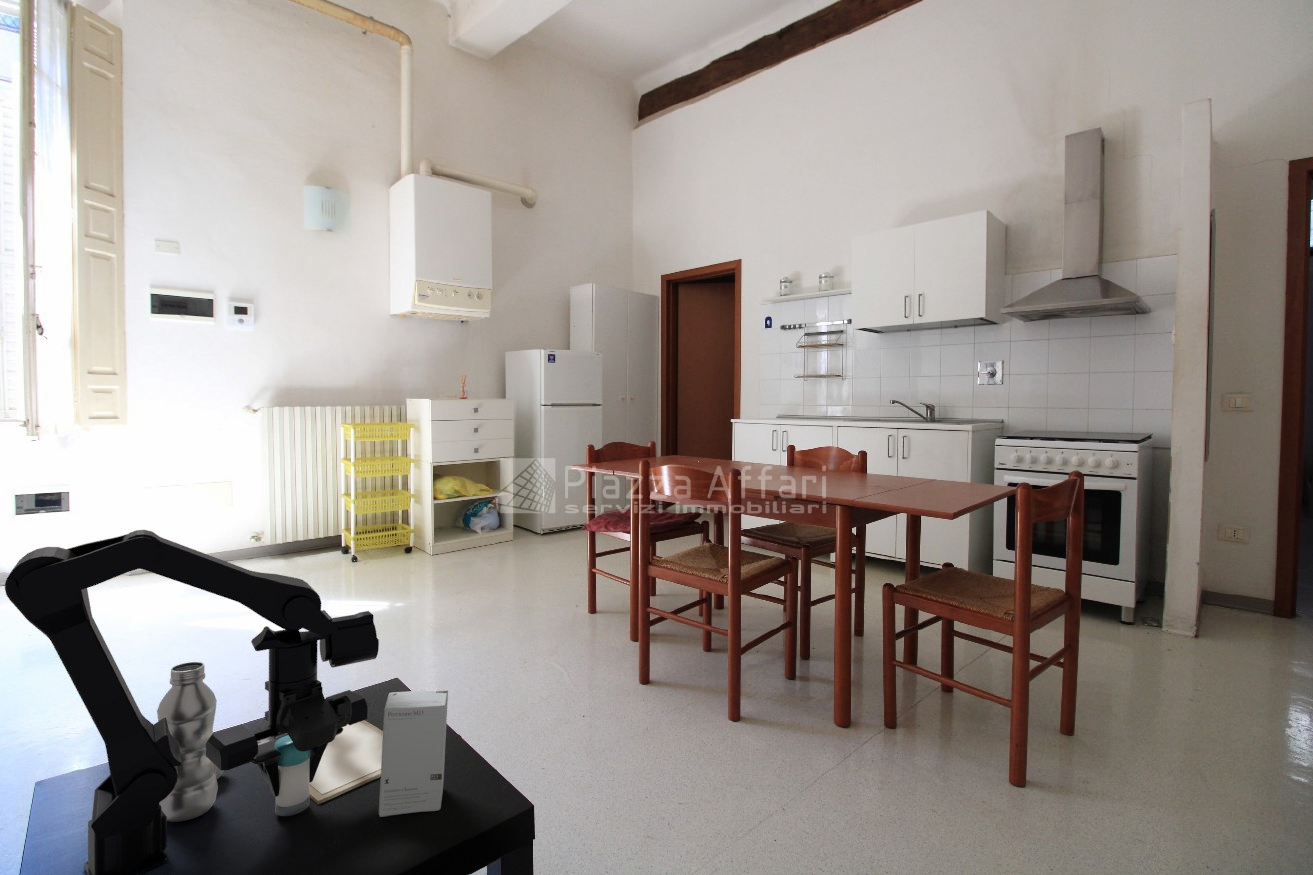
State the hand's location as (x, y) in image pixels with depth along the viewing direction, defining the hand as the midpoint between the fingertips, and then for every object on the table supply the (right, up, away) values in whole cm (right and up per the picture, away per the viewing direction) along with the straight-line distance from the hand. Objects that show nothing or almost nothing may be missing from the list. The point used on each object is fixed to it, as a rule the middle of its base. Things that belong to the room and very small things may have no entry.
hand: (292, 788), depth 88 cm
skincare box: (+15, -4, +3) cm, 16 cm away
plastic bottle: (-14, -3, -1) cm, 14 cm away
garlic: (-17, -3, +7) cm, 18 cm away
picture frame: (0, -3, +14) cm, 15 cm away
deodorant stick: (0, -3, 0) cm, 2 cm away
